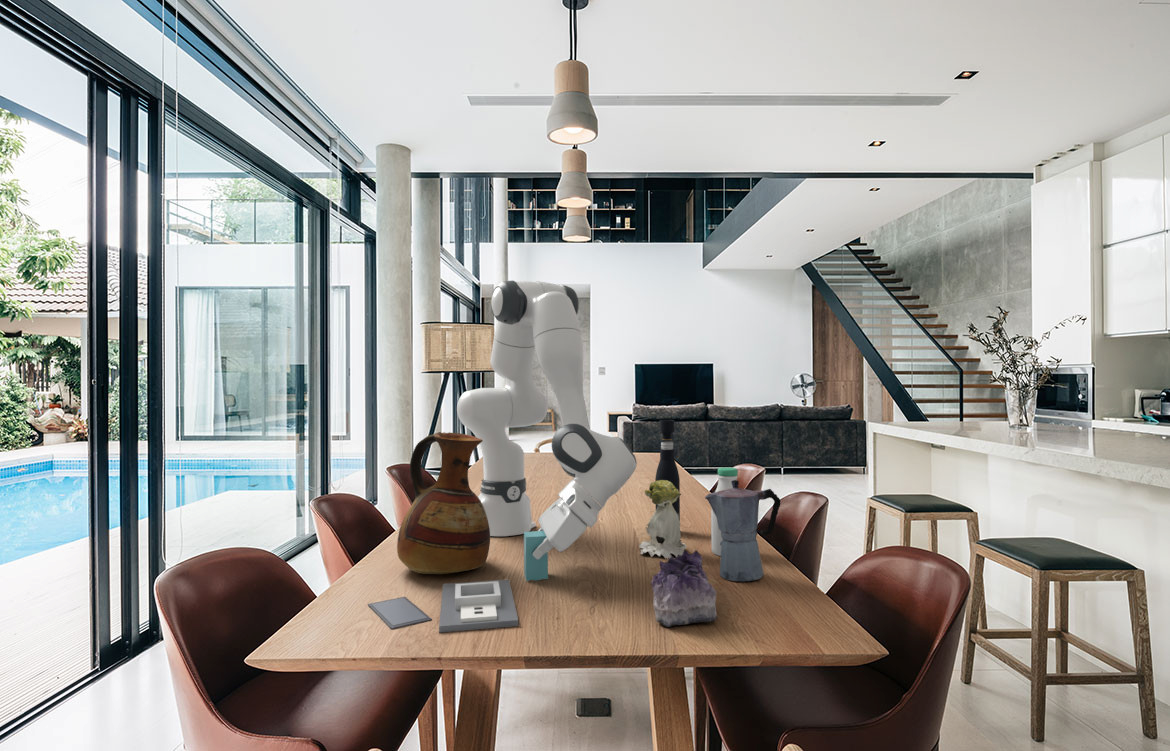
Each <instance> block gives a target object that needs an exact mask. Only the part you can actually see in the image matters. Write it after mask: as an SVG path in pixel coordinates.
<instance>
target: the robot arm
mask: <svg viewBox="0 0 1170 751" xmlns="http://www.w3.org/2000/svg"><path fill="white" fill-rule="evenodd" d="M490 303H491V304H490V306H491V312H492V314H493V316H494V318H495V320H496V321H497V322H496V326H495V331H494V335H493V342H492V349H491V354H490V366H491V368H492V370H493V372H494V373H495V374H496V375H498V376H500V377H501V378H502V379H505V385H504V387H480V388H475V389H471V390H467V391H464V392H463V393H462V394H461V395H460V397H459V399H458V401H457V406H456V412H457V418H458V420H459V421H460V423H461V424H462V425H463V426H464V427H466V428H467V429H468V430H469V431H470V432H472V433H473V435H474V437H477V438H479V439H482V440H483V441H482V442H481V443H480V444H479V446H480V449H481V453H482V462H483V464H482V466H483V468H482V469H483V478H482V479H481V483H480V494H478V495H477V497H478V498H479V499H480V501H481V503H482V505H483V507H484V509H485V512H486V515H487V519H488V524H489V528H490V537H509V536H510V537H511V536H517V535H524V532H531V530H532V529H533V528H535V527H536V521H533V520H532V508H531V498H530V496H528V495H527V493H526V492H527V479H526V477H525V453H524V450H523V448H522V447H521V446H520V445H519V444H518V443H516V442H515V441H513V440H511V439H509V438H508V436H507V433H506V428H521V427H522V428H524V427H529V426H533V425H537V424H540V423H542V422H543V421H544V419H545V418H546V416H547V414H548V410H549V409H548V408H549V403H548V399H547V397H546V395H545V394H544V392H542V390H541V389H539V388H538V386H537V384H536V382H535V381H534V380H535V379H534V377H533V362H534V356H535V353H536V357H537V361H538V364H539V366H540V368H541V371H542V372H543V374H544V377H545V378H546V379H547V381H548V382H549V384H550V387H551V389H552V391H553V393H554V395H555V399H556V401H557V405H558V409H559V410H558V412H559V416H560V422H561V427H560V428H559V429H558V430H556V432H555V433H554V435H553V436H552V440H551V450H552V454H553V456H554V458H555V459H556V461H557V462H558V463H559V465H560V466H561V468H562V470H563V472H564V473H566V474H567V475H568V476H570V477H572V479H571V480H570V481H569V482H568V483H567V484H566V486H565V487H564V488H562V490H561V491H559V493H558V494H557V495H558V496H559V498H557V499H556V500H555V501H553V503H552V504H551V505H550V506H549V507H548V508H547V509H546V510H544V512H543V513H542V514H540V516H539V518H538V519H537V521H538V524H539V526H540V528H539V529H538V530H537V531H544V533H545V535H546V538H545V539H544V540H543V543H541V544H540V545H539V546H538V547H536V548H535V549H534V550H533V551H532V554H533V556H534V557H535V558H536V559H540V558H541V557H542V556H543V555H544V554H545V553H547V552H550V551H551V550H552V549H555V550H557V551H558V552H560V553H561V552H564V551H565V550H567V549H568V548H569V547H570V546H571V545H573V544H574V543H575V542H576V541H577V540H578V538H580V537H581V536H582V535H583V534H584V533H585V531H586V530H587V528H593V526H594V525H595V524H596V523H597V522H598V515H599V513H600V512H601V511H602V509H603V508H605V506H606V503H607V501H608V500H609V499H610V498H611V497H613V496H614V495H615V494H617V493H618V492H619V491H620V490H621V489H622V488H623V486H624V485H625V484H626V483H627V482H628V480H629V479H630V478H632V476H633V474H634V472H636V469H637V462H638V461H637V458H636V455H635V454H634V453H633V451H632V449H631V448H630V446H629V445H628V444H627V443H626V441H624V440H623V439H622V438H621V437H618V436H610V435H609V436H608V435H606V434H601V433H599V432H596V431H594V430H593V429H590V424H589V418H588V412H587V406H586V403H585V396H584V395H585V394H584V384H583V382H584V348H583V347H584V346H583V337H582V332H581V326H580V323H579V318H578V313H579V308H580V307H579V305H580V302H579V298H578V295H577V292H576V291H575V289H573V288H572V287H570V286H568V285H566V284H565V285H564V284H561V283H560V284H557V283H551V282H546V281H538V280H537V281H528V280H527V281H524V280H523V281H515V280H505V281H500V282H499V283H498V284H497V285H496V286H495V287H494V289H493V291H492V294H491V302H490Z"/></svg>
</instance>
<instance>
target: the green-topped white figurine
mask: <svg viewBox="0 0 1170 751" xmlns="http://www.w3.org/2000/svg"><path fill="white" fill-rule="evenodd" d="M643 492H644V494H645V496H646V497H648V498H649V499H650V500H651V503H653V505H656V504H657V505H658V507H657V509H656V508H655V511H654V510H653V511H652V512H653V514H652V516H651V518H650V519H649V521H648V523H647V524H646V527H645V530H646V534H647V535H648V536H649V537H650V540H645V541H642V542H641V543H640V544H639V546H638V547H639V548H640V554H641V555H644V554H646V553H647V552H648V554H649V555H650V557H651V558H652V557H654V555H657V556H658V558H659V557H661V556H663V558H664V559H666V558H667V559H669V558H671V557H672V555H674V556H675V558H677V556H678V554H679V555H682V554H683V552H684V551H685V549H686V548H687V547H688V545H686V544H685V543H684V542H682V539H681V520H680V521H679V517H678V515H677V513H676V511H675V510H674V508H673V506H672V503H673V502H675V501H676V500H677V498H678V497H680V498H681V495H682V494H681V493H679V491H678V489H676V488H675V486H674V485H673V484H672V483H671V482H669V481H667V480H658V481H652V482H651V483H650V484H649V488H648V489H644V490H643ZM652 512H651V513H652Z"/></svg>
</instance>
